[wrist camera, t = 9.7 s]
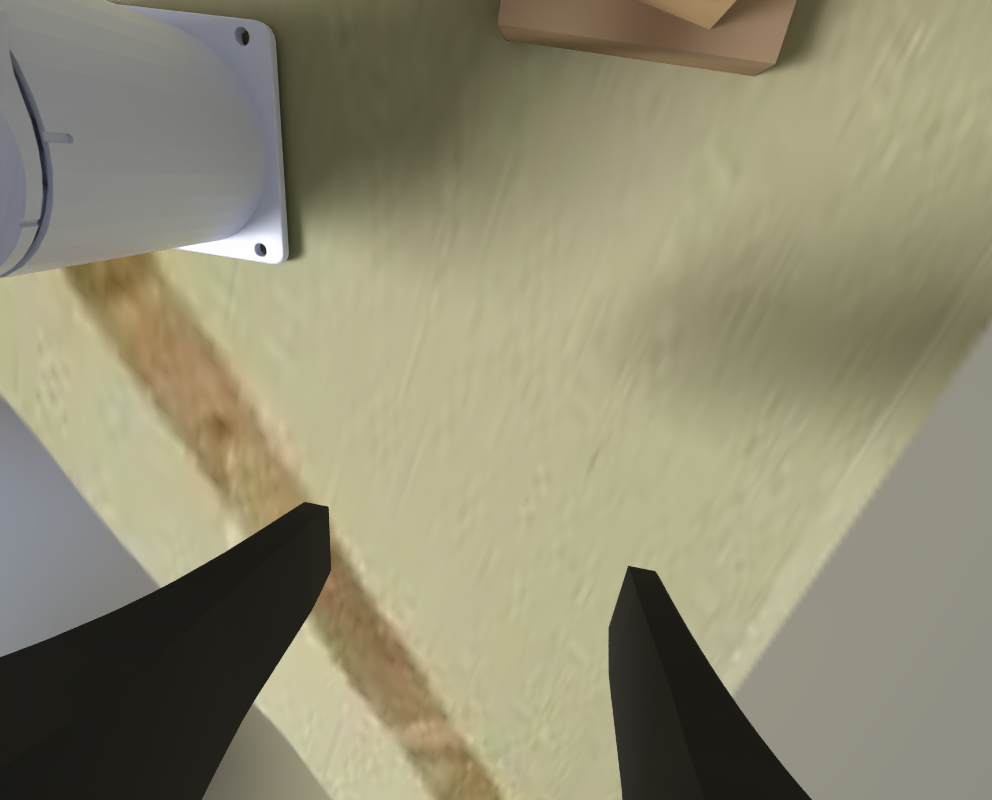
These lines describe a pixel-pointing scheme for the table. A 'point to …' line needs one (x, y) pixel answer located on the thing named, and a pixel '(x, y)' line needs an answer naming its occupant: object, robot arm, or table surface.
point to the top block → (694, 9)
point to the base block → (653, 31)
